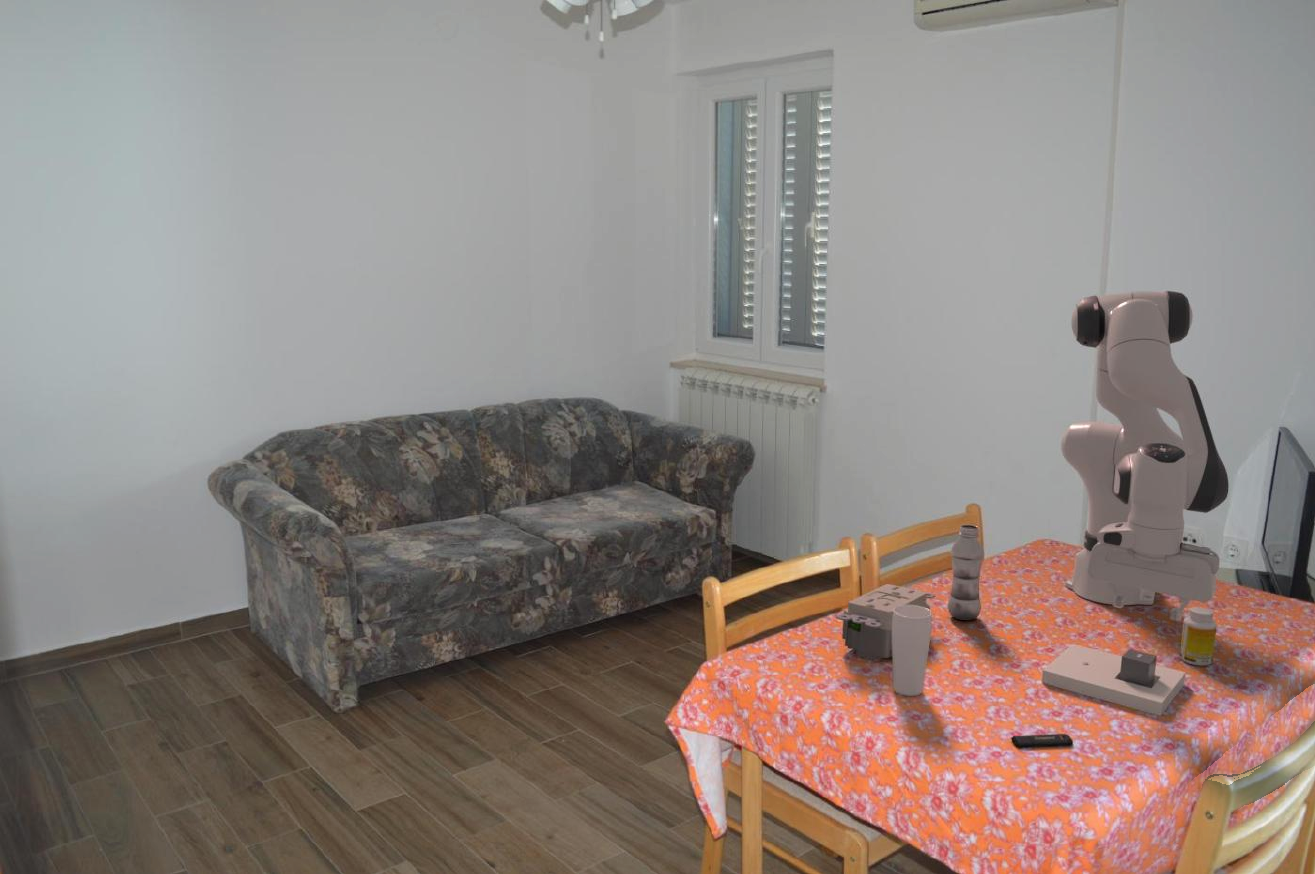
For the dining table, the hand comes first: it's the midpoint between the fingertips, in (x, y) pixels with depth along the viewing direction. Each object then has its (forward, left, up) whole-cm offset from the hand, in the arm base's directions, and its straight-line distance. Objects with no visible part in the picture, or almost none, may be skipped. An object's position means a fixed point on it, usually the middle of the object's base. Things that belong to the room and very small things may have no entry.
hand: (1146, 612), depth 179 cm
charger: (+1, 0, -14) cm, 14 cm away
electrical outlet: (+11, -44, -15) cm, 48 cm away
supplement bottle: (-20, +5, -15) cm, 26 cm away
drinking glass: (+28, -31, -15) cm, 44 cm away
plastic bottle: (-12, -38, -15) cm, 43 cm away
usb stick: (+31, -6, -15) cm, 35 cm away
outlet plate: (+1, -4, -15) cm, 15 cm away
